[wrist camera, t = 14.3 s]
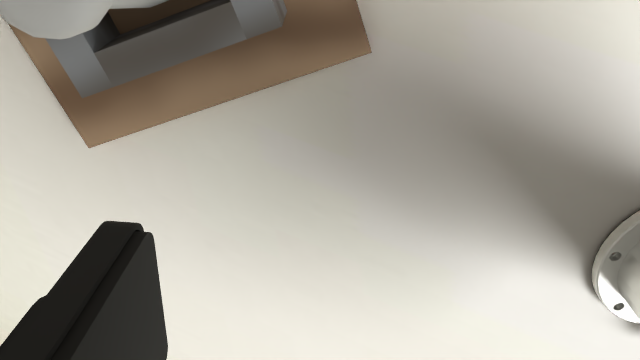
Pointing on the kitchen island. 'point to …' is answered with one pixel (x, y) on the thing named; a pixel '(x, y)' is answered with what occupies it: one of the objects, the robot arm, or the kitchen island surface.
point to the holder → (189, 58)
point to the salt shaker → (62, 15)
